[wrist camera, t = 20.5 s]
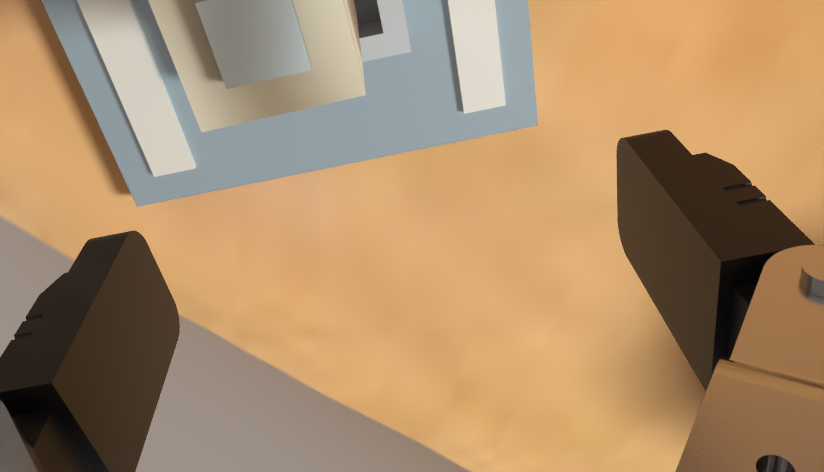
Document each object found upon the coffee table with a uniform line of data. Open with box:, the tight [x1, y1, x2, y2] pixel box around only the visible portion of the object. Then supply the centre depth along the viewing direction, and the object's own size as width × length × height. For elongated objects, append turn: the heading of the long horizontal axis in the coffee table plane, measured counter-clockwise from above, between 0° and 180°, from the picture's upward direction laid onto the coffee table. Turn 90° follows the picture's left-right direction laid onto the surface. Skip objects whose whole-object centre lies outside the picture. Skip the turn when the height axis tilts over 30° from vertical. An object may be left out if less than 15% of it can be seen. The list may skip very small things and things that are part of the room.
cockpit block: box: [148, 0, 366, 132], centre depth 21 cm, size 5×5×6 cm
